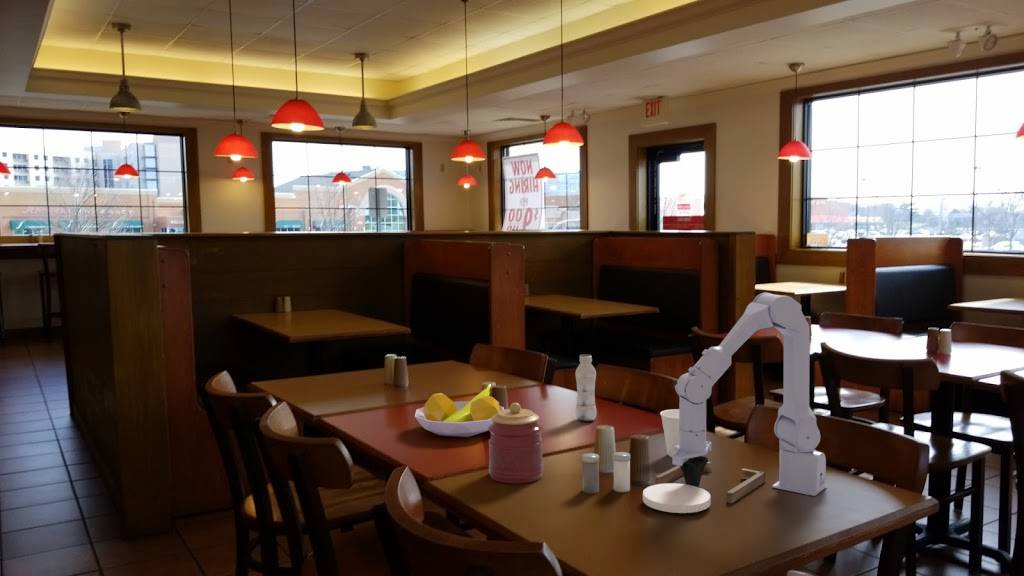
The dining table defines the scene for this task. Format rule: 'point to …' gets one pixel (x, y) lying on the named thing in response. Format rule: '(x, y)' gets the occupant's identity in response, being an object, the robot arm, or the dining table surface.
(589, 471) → the pepper shaker
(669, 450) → the cup
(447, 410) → the fruit bowl
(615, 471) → the salt shaker
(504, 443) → the canister
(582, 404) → the plastic bottle
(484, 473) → the dining table surface
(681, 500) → the plastic lid
